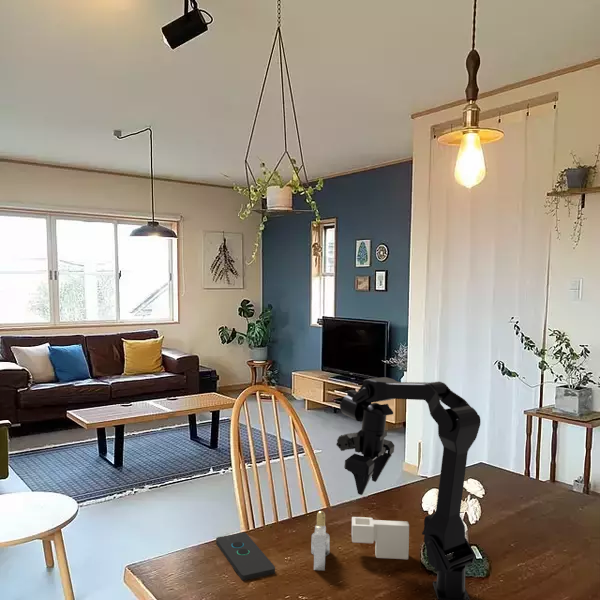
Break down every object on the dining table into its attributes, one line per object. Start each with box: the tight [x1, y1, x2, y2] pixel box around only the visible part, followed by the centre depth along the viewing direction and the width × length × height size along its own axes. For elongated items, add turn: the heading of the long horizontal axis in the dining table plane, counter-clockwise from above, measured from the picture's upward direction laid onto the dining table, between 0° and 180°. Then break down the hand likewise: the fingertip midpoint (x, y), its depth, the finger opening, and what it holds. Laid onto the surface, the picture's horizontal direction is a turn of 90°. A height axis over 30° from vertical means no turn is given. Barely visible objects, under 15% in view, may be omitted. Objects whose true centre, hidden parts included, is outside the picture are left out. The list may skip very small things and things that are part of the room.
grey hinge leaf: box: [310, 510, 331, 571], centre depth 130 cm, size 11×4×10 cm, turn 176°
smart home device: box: [215, 532, 276, 581], centre depth 130 cm, size 8×2×20 cm
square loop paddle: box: [351, 516, 410, 560], centre depth 132 cm, size 5×13×8 cm, turn 86°
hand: (367, 487), depth 138 cm, fingers open, 9 cm apart
